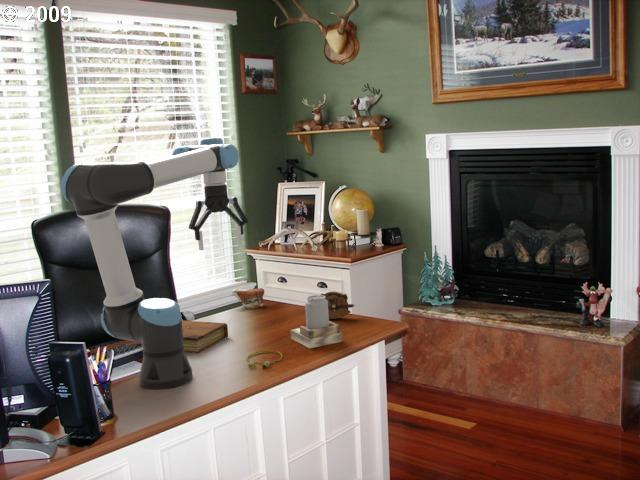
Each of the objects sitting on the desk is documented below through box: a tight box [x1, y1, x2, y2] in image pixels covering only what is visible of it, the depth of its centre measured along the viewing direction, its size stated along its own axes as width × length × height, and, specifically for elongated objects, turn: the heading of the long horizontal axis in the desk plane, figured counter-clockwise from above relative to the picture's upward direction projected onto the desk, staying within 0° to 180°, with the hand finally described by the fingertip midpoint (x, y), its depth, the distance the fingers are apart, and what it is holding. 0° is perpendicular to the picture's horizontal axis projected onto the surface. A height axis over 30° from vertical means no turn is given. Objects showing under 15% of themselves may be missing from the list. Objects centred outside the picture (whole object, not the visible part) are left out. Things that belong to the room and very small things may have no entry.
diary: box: [182, 319, 229, 354], centre depth 250 cm, size 23×19×6 cm
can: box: [304, 294, 330, 330], centre depth 241 cm, size 8×8×12 cm
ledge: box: [290, 320, 343, 349], centre depth 243 cm, size 12×14×6 cm
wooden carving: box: [320, 290, 355, 320], centre depth 268 cm, size 16×5×10 cm, turn 83°
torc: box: [246, 349, 283, 370], centre depth 226 cm, size 12×16×2 cm
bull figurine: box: [230, 287, 265, 310], centre depth 294 cm, size 4×13×8 cm, turn 100°
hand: (220, 247), depth 248 cm, fingers open, 13 cm apart
